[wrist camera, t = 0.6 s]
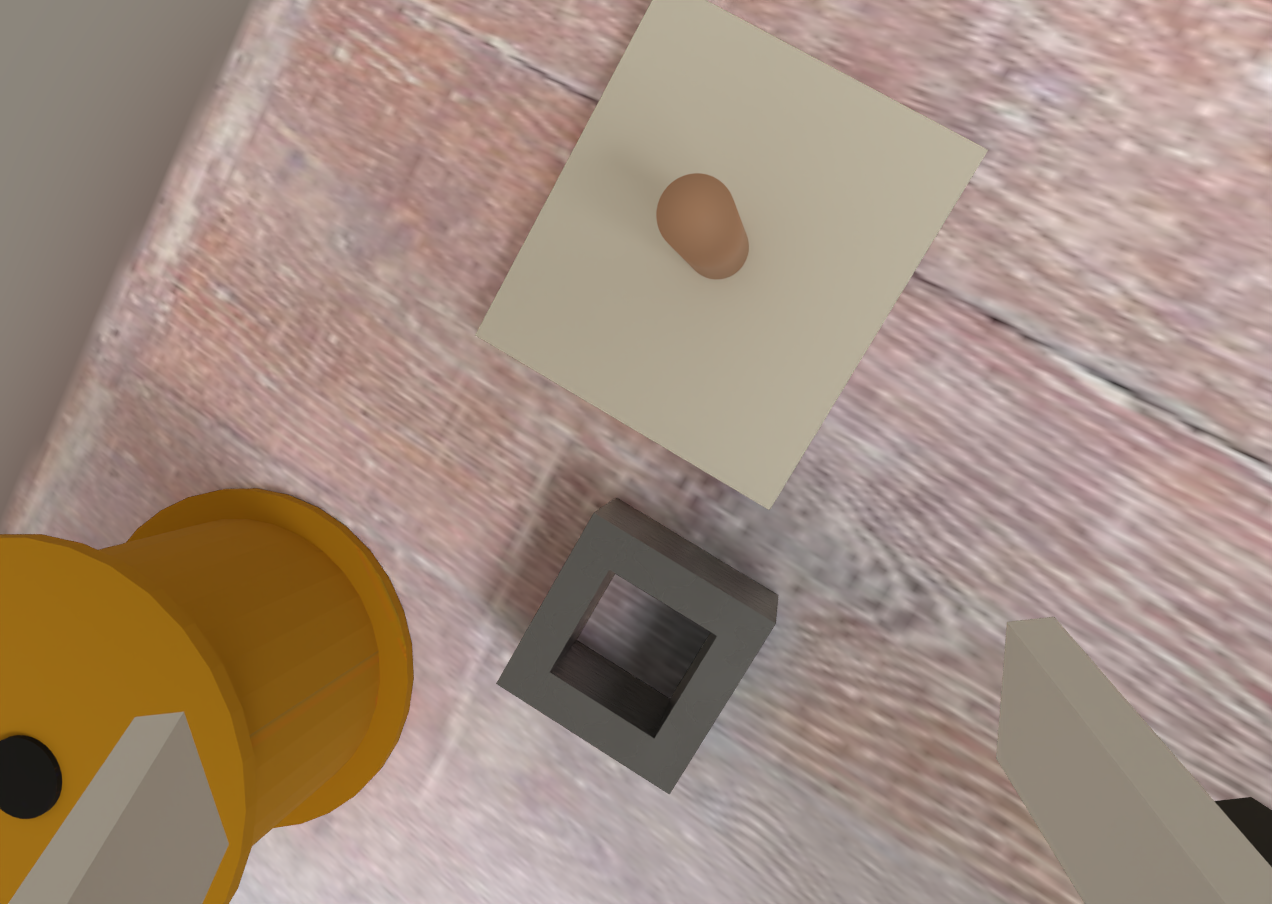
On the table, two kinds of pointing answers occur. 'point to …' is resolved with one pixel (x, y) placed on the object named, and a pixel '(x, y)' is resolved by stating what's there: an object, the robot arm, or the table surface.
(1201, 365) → the table surface
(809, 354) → the keeper board
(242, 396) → the table surface
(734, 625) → the steel link
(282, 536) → the spool
